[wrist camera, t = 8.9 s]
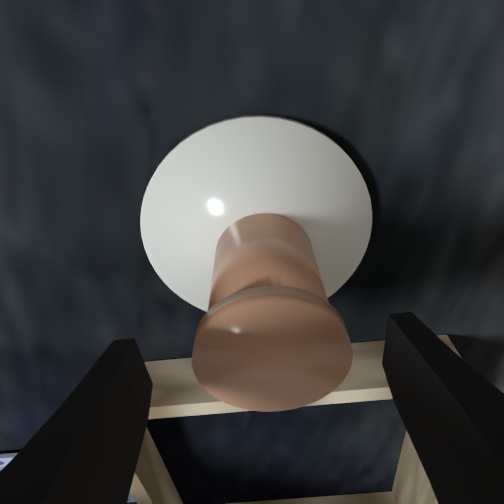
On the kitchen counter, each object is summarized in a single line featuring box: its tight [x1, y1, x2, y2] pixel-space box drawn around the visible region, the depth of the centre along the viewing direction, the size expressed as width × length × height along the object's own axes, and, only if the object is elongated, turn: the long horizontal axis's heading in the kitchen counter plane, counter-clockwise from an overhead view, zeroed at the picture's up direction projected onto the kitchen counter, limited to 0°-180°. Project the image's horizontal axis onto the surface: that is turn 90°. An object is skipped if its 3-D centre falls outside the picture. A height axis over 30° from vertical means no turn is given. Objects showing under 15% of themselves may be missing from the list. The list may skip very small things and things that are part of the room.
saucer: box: [140, 114, 372, 312], centre depth 16 cm, size 10×10×1 cm
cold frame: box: [130, 335, 462, 504], centre depth 24 cm, size 20×20×4 cm
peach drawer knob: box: [192, 213, 353, 412], centre depth 14 cm, size 5×5×6 cm
